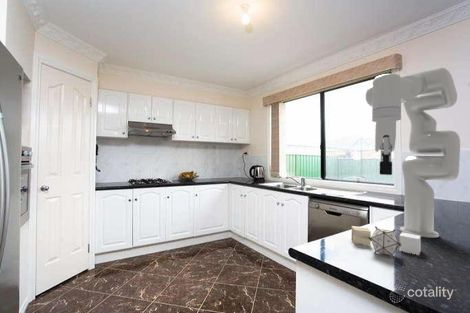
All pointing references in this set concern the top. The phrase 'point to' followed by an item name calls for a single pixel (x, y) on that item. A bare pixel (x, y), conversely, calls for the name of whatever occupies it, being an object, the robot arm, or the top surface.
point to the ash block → (361, 235)
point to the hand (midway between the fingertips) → (385, 174)
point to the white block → (410, 243)
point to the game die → (384, 241)
